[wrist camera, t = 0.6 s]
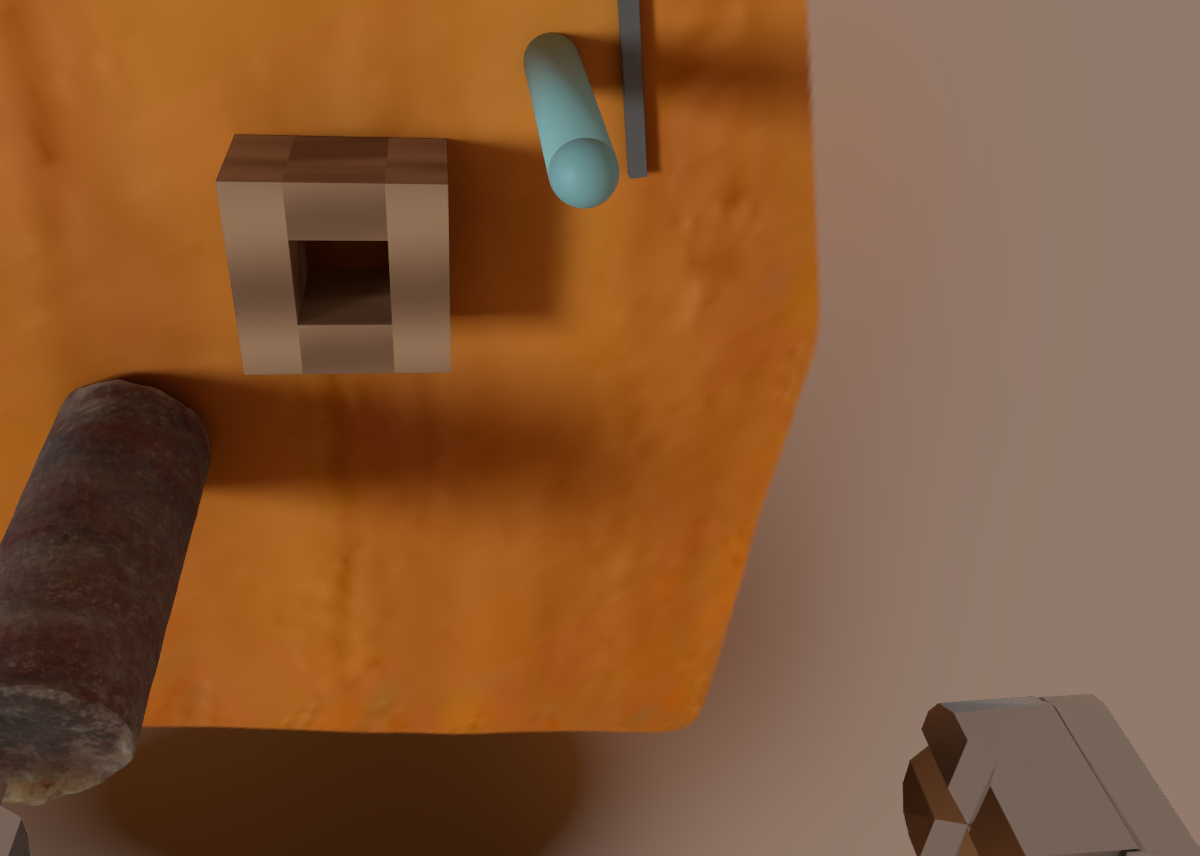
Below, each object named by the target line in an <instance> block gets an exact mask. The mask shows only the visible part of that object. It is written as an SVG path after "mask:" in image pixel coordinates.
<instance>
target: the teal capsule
mask: <svg viewBox="0 0 1200 856" xmlns="http://www.w3.org/2000/svg"><path fill="white" fill-rule="evenodd" d="M524 68H525V73H526V77H527V82H528V86H529V91H530V96H531V100H532V105H533V109H534V114H535V118H536V123H537V128H538V132H539V137H540V141H541V146H542V150H543V155H544V160H545V164H546V169H547V173H548V178H549V182H550V185H551V187H552V189H553V191H554V193H555V194H556V195H557V196H558V198H559V199H560V200H562V201H563V202H564V203H566V204H568V205H570V206H572V207H576V208H592V207H595V206H598V205H600V204H602V203H603V202H605V201H606V200H607V199H608V198H609V197H610V196H611V195H612V193H613V192H614V190H615V188H616V186H617V183H618V179H619V165H618V161H617V158H616V155H615V152H614V150H613V147H612V144H611V141H610V138H609V136H608V133H607V130H606V127H605V125H604V122H603V119H602V116H601V113H600V111H599V108H598V105H597V102H596V100H595V97H594V94H593V91H592V88H591V86H590V83H589V80H588V77H587V75H586V72H585V69H584V66H583V63H582V61H581V58H580V55H579V52H578V50H577V48H576V46H575V44H574V43H573V42H572V41H571V40H570V39H569V38H568V37H566V36H564V35H562V34H559V33H545V34H542V35H540V36H538V37H536V38H535V39H534V40H533V41H532V42H531V43H530V44H529V45H528V47H527V49H526V51H525V55H524Z"/></svg>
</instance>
